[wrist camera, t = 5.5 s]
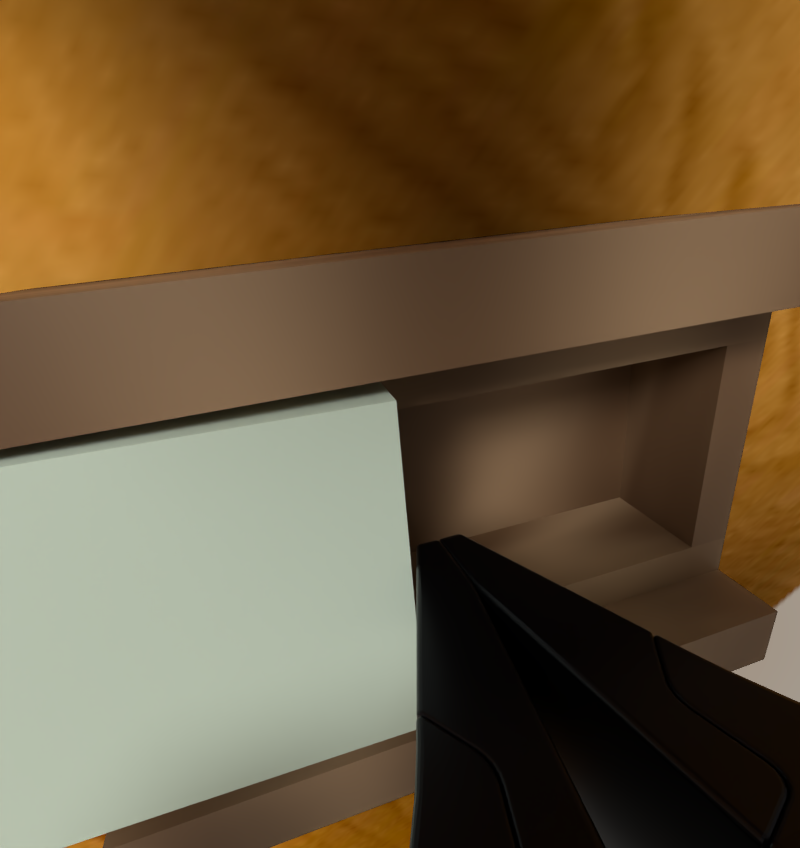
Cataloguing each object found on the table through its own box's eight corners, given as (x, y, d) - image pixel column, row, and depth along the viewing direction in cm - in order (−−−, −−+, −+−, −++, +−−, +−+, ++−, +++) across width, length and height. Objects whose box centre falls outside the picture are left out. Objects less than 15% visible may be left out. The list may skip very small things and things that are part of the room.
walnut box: (650, 217, 12) (895, 195, 7) (618, 539, 15) (763, 659, 11) (31, 289, 9) (-231, 329, 4) (181, 664, 12) (132, 899, 8)
